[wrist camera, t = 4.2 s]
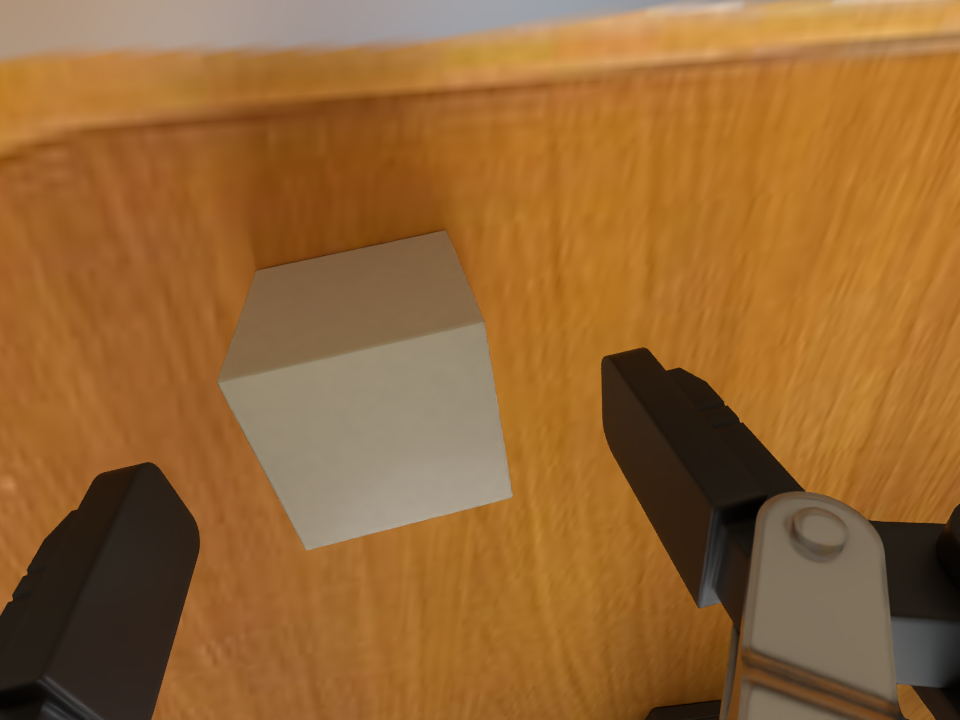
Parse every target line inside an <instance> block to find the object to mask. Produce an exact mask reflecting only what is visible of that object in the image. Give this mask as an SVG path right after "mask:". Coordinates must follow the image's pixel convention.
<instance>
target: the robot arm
mask: <svg viewBox="0 0 960 720" xmlns="http://www.w3.org/2000/svg"><path fill="white" fill-rule="evenodd" d="M601 374H602V419H603V427H604V432H605V436H606V439H607V442H608V445H609V448H610V450H611V452H612V454H613V456H614V457H615V459H616V461H617V463H618V465H619V466H620V468H621V470H622V472H623V474H624V475H625V477H626V479H627V481H628V483H629V484H630V486H631V488H632V490H633V492H634V493H635V495H636V497H637V499H638V501H639V502H640V504H641V506H642V508H643V509H644V511H645V513H646V515H647V517H648V518H649V520H650V522H651V524H652V526H653V527H654V529H655V531H656V533H657V535H658V536H659V538H660V540H661V542H662V544H663V545H664V547H665V549H666V551H667V553H668V554H669V556H670V558H671V560H672V562H673V563H674V565H675V567H676V569H677V570H678V572H679V574H680V576H681V578H682V579H683V581H684V583H685V585H686V587H687V588H688V590H689V592H690V594H691V596H692V597H693V599H694V601H695V603H696V605H697V606H698V608H703V607H706V606H710V605H714V604H717V603H722V605H723V606H724V608H725V610H726V611H727V613H728V615H729V616H730V618H731V620H732V621H733V623H732V627H731V634H730V641H729V649H728V656H727V664H726V671H725V679H724V686H723V694H722V701H721V709H720V716H719V720H909V719H906V718H905V717H904V716H903V715H902V712H901V710H900V706H899V702H898V695H897V684H904V685H911V686H912V687H913V689H914V690H915V691H916V693H917V694H918V696H919V697H920V698H921V700H922V701H923V702H924V704H925V705H926V706H927V708H928V709H929V710H930V712H931V713H932V715H933V716H934V717H935V719H936V720H960V504H959V505H958V506H957V507H956V508H955V509H954V511H953V513H952V514H951V516H950V518H949V520H948V522H947V523H946V524H935V523H906V522H881V521H871V520H867V519H866V518H865V517H864V516H862V515H861V514H860V513H859V512H857V511H856V510H854V509H853V508H851V507H850V506H848V505H846V504H845V503H843V502H841V501H839V500H836V499H834V498H831V497H829V496H825V495H821V494H818V493H812V492H806V491H805V490H804V489H803V488H802V487H801V486H800V485H799V484H798V483H797V482H796V481H795V480H794V478H793V477H792V476H791V475H790V474H789V473H788V472H787V471H786V470H785V469H784V467H783V466H782V465H781V464H780V463H779V462H778V461H777V460H776V459H775V457H774V456H773V455H772V454H771V453H770V452H769V451H768V450H767V449H766V448H765V446H764V445H763V444H762V443H761V442H760V441H759V440H758V439H757V438H756V436H755V435H754V434H753V433H752V432H751V431H750V430H749V429H748V428H747V426H746V425H745V424H744V423H743V422H742V423H740V421H739V418H738V417H737V415H736V414H735V413H734V412H733V411H732V410H731V409H730V408H729V407H728V406H725V405H724V401H723V400H722V399H721V398H720V397H719V396H718V394H717V393H716V392H715V391H714V390H713V389H712V388H711V387H710V386H709V384H708V383H707V382H706V381H704V380H702V379H700V378H698V377H696V376H694V375H693V374H691V373H689V372H687V371H685V370H683V369H682V368H676V369H672V370H668V371H666V370H665V369H664V368H663V367H662V365H661V364H660V363H659V362H658V361H657V359H656V358H655V357H654V356H653V355H652V353H651V352H650V351H649V350H648V349H647V348H644V347H643V348H638V349H634V350H630V351H625V352H621V353H617V354H613V355H608V356H605V357H603V359H602V364H601ZM199 548H200V537H199V530H198V526H197V523H196V521H195V519H194V517H193V516H192V514H191V513H190V511H189V510H188V509H187V507H186V506H185V504H184V503H183V501H182V500H181V499H180V497H179V496H178V494H177V493H176V491H175V490H174V489H173V487H172V486H171V484H170V483H169V481H168V480H167V479H166V477H165V476H164V474H163V473H162V471H161V470H160V469H159V468H158V467H157V466H156V465H155V464H153V463H150V462H146V463H142V464H138V465H133V466H129V467H125V468H121V469H116V470H112V471H108V472H104V473H101V474H99V475H98V476H97V477H96V478H95V479H94V480H93V482H92V484H91V485H90V487H89V489H88V491H87V493H86V495H85V496H84V498H83V500H82V502H81V504H80V506H79V507H78V509H77V510H74V511H71V512H70V513H69V514H68V516H67V517H66V518H65V519H64V520H63V521H62V522H61V523H60V524H59V525H58V526H57V527H56V528H55V529H54V530H53V531H52V532H51V533H50V534H49V535H48V536H47V537H46V538H45V539H44V541H43V543H42V544H41V546H40V548H39V550H38V551H37V553H36V555H35V557H34V558H33V560H32V562H31V563H30V565H29V567H28V569H27V572H28V574H27V575H26V576H23V577H22V579H21V581H20V583H19V584H18V586H17V588H16V590H15V591H14V593H13V595H12V596H13V601H12V602H8V603H7V605H6V607H5V609H4V610H3V612H2V614H1V616H0V720H151V719H152V716H153V712H154V708H155V705H156V701H157V698H158V694H159V691H160V687H161V684H162V680H163V677H164V673H165V670H166V666H167V663H168V659H169V656H170V652H171V649H172V645H173V642H174V638H175V635H176V631H177V628H178V624H179V621H180V617H181V614H182V610H183V607H184V603H185V600H186V596H187V593H188V589H189V585H190V582H191V578H192V575H193V571H194V568H195V564H196V561H197V557H198V554H199Z"/></svg>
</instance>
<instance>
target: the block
mask: <svg viewBox="0 0 960 720" xmlns="http://www.w3.org/2000/svg"><path fill="white" fill-rule="evenodd" d="M217 383H218V385H219V387H220V389H221V391H222V393H223V395H224V397H225V399H226V400H227V402H228V404H229V406H230V408H231V410H232V412H233V414H234V416H235V417H236V419H237V421H238V423H239V425H240V427H241V429H242V431H243V433H244V434H245V436H246V438H247V440H248V442H249V444H250V446H251V448H252V450H253V451H254V453H255V455H256V457H257V459H258V461H259V463H260V465H261V466H262V468H263V470H264V472H265V474H266V476H267V478H268V480H269V482H270V483H271V485H272V487H273V489H274V491H275V493H276V495H277V497H278V499H279V500H280V502H281V504H282V506H283V508H284V510H285V512H286V514H287V516H288V517H289V519H290V521H291V523H292V525H293V527H294V529H295V531H296V533H297V534H298V536H299V538H300V540H301V542H302V544H303V546H304V548H305V549H306V550H310V549H314V548H318V547H322V546H326V545H330V544H334V543H338V542H341V541H345V540H349V539H353V538H357V537H361V536H365V535H369V534H373V533H376V532H380V531H384V530H388V529H392V528H396V527H400V526H404V525H408V524H411V523H415V522H419V521H423V520H427V519H431V518H435V517H439V516H443V515H447V514H450V513H454V512H458V511H462V510H466V509H470V508H474V507H478V506H482V505H485V504H489V503H493V502H497V501H501V500H505V499H509V498H512V496H513V493H512V487H511V481H510V475H509V469H508V463H507V456H506V450H505V444H504V438H503V432H502V426H501V420H500V413H499V407H498V401H497V395H496V389H495V383H494V377H493V370H492V364H491V358H490V352H489V346H488V340H487V333H486V327H485V321H484V319H483V317H482V314H481V312H480V309H479V307H478V305H477V302H476V300H475V297H474V295H473V293H472V290H471V288H470V286H469V283H468V281H467V278H466V276H465V274H464V271H463V269H462V266H461V264H460V262H459V259H458V257H457V255H456V252H455V250H454V247H453V245H452V243H451V240H450V238H449V236H448V233H447V231H445V230H444V231H440V232H435V233H430V234H426V235H421V236H416V237H411V238H407V239H402V240H397V241H393V242H388V243H383V244H379V245H374V246H369V247H365V248H360V249H355V250H351V251H346V252H341V253H337V254H332V255H327V256H323V257H318V258H313V259H308V260H304V261H299V262H294V263H290V264H285V265H280V266H276V267H271V268H266V269H262V270H257V271H256V273H255V275H254V278H253V281H252V284H251V287H250V289H249V292H248V295H247V298H246V301H245V304H244V306H243V309H242V312H241V315H240V318H239V320H238V323H237V326H236V329H235V332H234V334H233V337H232V340H231V343H230V346H229V348H228V351H227V354H226V357H225V360H224V362H223V365H222V368H221V371H220V374H219V377H218V379H217Z"/></svg>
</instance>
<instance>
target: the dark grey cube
mask: <svg viewBox="0 0 960 720" xmlns="http://www.w3.org/2000/svg"><path fill="white" fill-rule="evenodd" d="M721 701H722V700H721ZM721 701H713V702H705V703H698V704H690V705H682V706H674V707H666V708H658V709H653V710H652V712H651V713H650V715H649V716H648V718H647V719H646V720H719V716H720V709H721Z"/></svg>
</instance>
